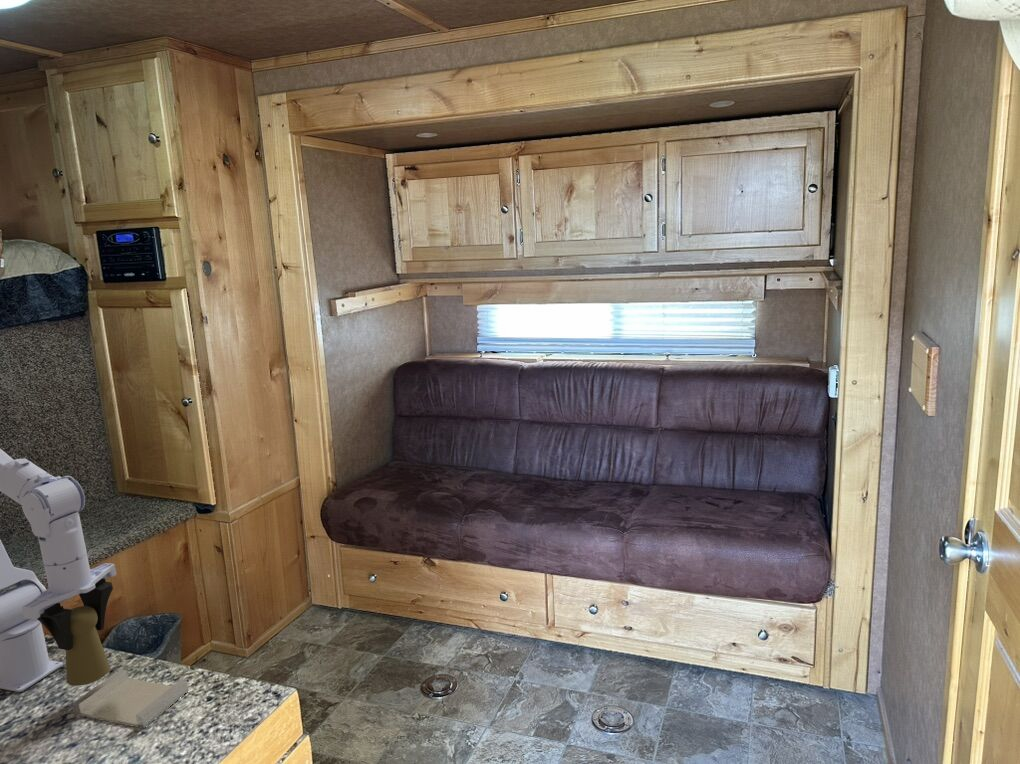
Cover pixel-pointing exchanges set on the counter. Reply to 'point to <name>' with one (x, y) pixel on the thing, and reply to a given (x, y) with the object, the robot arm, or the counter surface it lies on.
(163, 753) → the counter surface
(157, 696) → the bottom track
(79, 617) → the brown rounded piece
